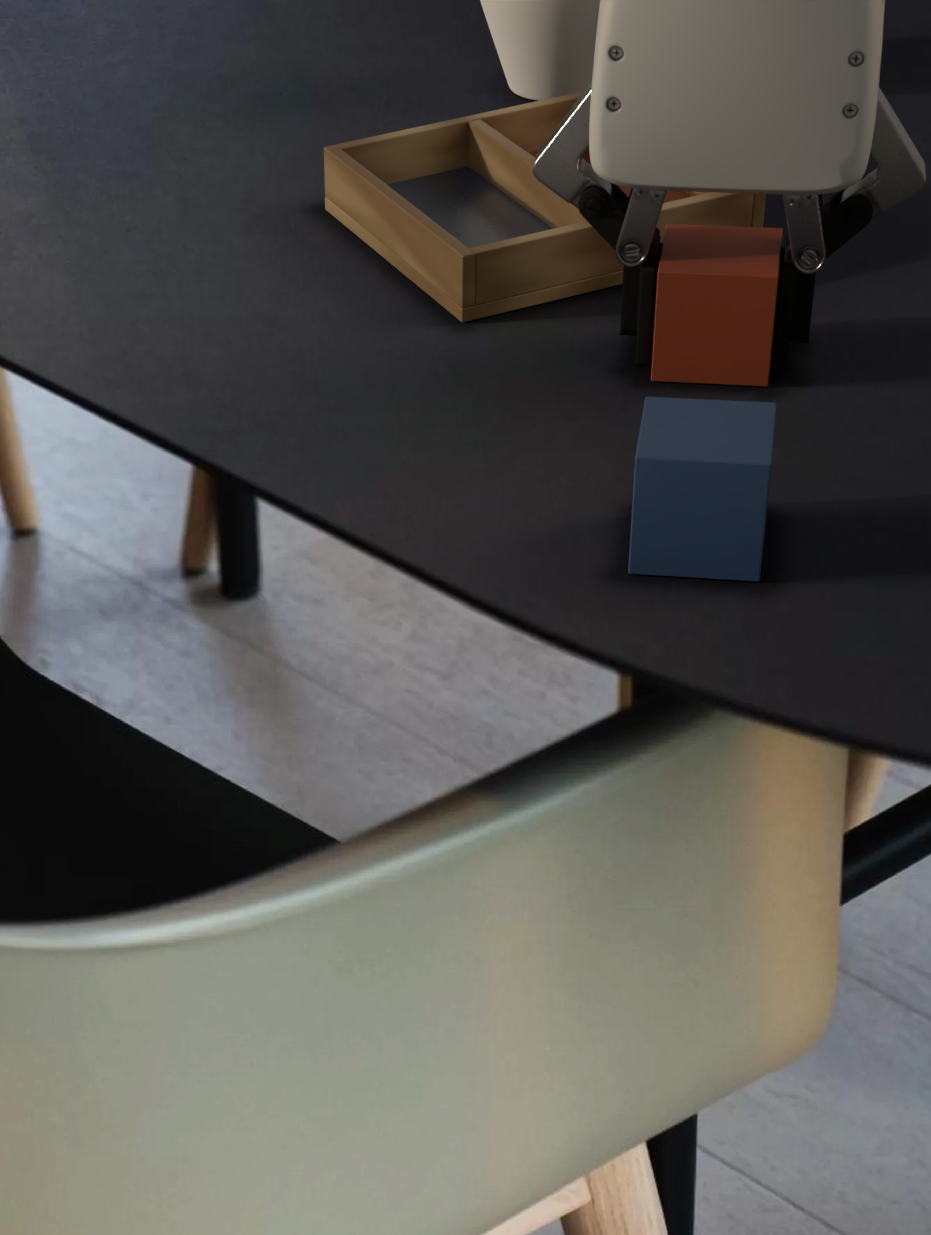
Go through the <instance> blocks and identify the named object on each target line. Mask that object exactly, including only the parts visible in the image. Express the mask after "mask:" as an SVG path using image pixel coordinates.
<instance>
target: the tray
mask: <svg viewBox="0 0 931 1235" xmlns="http://www.w3.org/2000/svg"><path fill="white" fill-rule="evenodd" d="M583 92H584V91H582V92H577V93H573V94H568V95H563V96H559V97H554V98H549V99H545V100H540V101H538V100H534V101H532V102H531V101H530V102H527V103H522V104H517V105H513V106H508V107H504V108H498V109H493V110H490V111H489V110H488V111H485V112H480V113H476V114H470V115H466V116H462V117H457V118H452V119H448V120H443V121H442V120H441V121H438V122H433V123H429V124H424V125H420V126H415V127H410V128H405V129H402V130H397V131H392V132H391V131H390V132H387V133H383V134H377V135H373V136H369V137H368V136H367V137H364V138H359V139H354V140H350V141H345V142H340V143H336V144H331V145H327V146H324V147H323V168H324V169H323V170H324V171H323V174H324V175H323V176H324V196H325V197H324V209H325V211H326V212H327V213H329V214H330V215H331V216H333V217H334V219H336V220H337V221H338V222H339V223H341V225H343V226H344V227H345V228H347V229H348V230H349V231H350V232H352V233H353V234H354V235H355V236H356V237H358V238H359V239H360V240H361V241H362V242H364V243H365V244H366V245H367V246H368V247H370V248H371V249H372V250H373V251H374V252H376V253H377V254H378V255H379V256H381V257H382V258H383V259H384V260H386V261H387V262H388V263H389V264H391V266H393V267H394V268H395V269H396V270H398V271H399V272H400V273H401V274H402V275H404V276H405V277H406V278H407V279H409V280H410V281H411V282H412V283H413V284H414V285H416V286H417V287H418V288H419V289H421V290H422V291H423V292H424V293H425V294H426V295H428V296H429V297H430V298H432V299H433V300H434V301H435V302H437V304H438V305H440V306H441V307H443V308H444V309H445V310H446V311H447V312H448V313H450V314H451V315H452V316H453V317H455V318H456V319H457V321H459V322H461V323H466V322H471V321H476V320H480V319H483V318H487V317H491V316H496V315H499V314H504V313H508V312H512V311H513V312H514V311H516V310H521V309H525V308H529V307H534V306H537V305H542V304H545V303H549V302H554V301H558V300H562V299H566V298H570V297H574V296H578V295H583V294H587V293H591V292H594V291H599V290H603V289H607V288H608V289H609V288H612V287H616V286H620V285H623V266H624V265H622V264H621V263H620V262H619V261H618V259H617V258H616V254H615V250H614V249H613V248H612V247H611V246H610V245H609V243H608V242H607V241H606V240H605V239H604V238H603V237H602V236H601V235H600V234H599V233H598V232H597V231H596V230H595V229H594V228H593V227H592V226H591V225H590V224H589V223H588V222H587V220H586V219H585V218H584V217H583V216H582V215H581V213H580V212H579V209H578V208H576V207H575V206H574V205H572V204H571V203H567V202H566V201H565V200H563V199H562V198H561V197H559V196H558V195H557V194H555V193H554V192H553V191H551V190H550V189H549V188H547V187H546V186H545V185H543V184H542V183H541V182H539V181H538V180H537V179H536V178H535V177H534V174H533V165H534V162H535V158H536V155H537V152H538V150H539V149H540V148H541V146H542V145H543V144H544V142H545V141H546V140H547V139H548V137H549V136H550V135H551V133H552V132H553V131H554V129H555V128H556V127H557V126H558V124H559V123H560V122H561V120H562V119H563V118H564V117H565V115H566V114H567V113H568V111H569V110H570V109H571V108H572V106H573V105H574V104H575V102H576V101H577V100H578V99H579V97H580V96H581V95H582V93H583ZM582 157H583V159H584V160H585V161H586V162H587V163H588V164H590V165H591V161H590V151H589V147H588V148H587V149H586V150H585V152H584V153H583V154H582ZM591 166H592V165H591ZM617 186H618V187H619V188H620V189H621V190H622V191H623V192H624V193H625V194H626V195H627V196H628V197H629V194H630V190H631V188H627V187H623V186H619V185H617ZM766 198H767V194H751V193H719V192H692V191H667V193H666V196H665V200H664V203H663V206H662V209H661V212H660V216H659V219H658V222H657V225H656V227H657V228H658V229H659V230H660V236H661V238H660V243H663V240H664V234H665V229H666V225H667V224H680V225H708V226H736V227H763V228H764V220H765V209H766V200H767V199H766Z"/></svg>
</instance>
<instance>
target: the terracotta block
mask: <svg viewBox="0 0 931 1235" xmlns="http://www.w3.org/2000/svg"><path fill="white" fill-rule="evenodd" d="M783 232H784V229H783V227H764V226H763V227H736V226H708V225H680V224H667V225H666V229H665V234H664V240H663V246H662V251H661V257H660V263H659V268H658V276H657V292H656V308H655V324H654V339H653V355H652V363H651V372H650V373H651V374H650V381H651V382H661V383H683V384H684V383H685V384H705V385H724V386H726V385H727V386H748V387H768V386H769V378H770V370H771V369H770V359H771V348H772V338H773V328H774V317H775V307H776V296H777V286H778V276H779V265H780V254H781V248H782V243H783Z"/></svg>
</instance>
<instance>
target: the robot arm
mask: <svg viewBox="0 0 931 1235" xmlns="http://www.w3.org/2000/svg"><path fill="white" fill-rule="evenodd" d="M885 8H886V0H600V6H599V15H598V24H597V33H596V43H595V53H594V65H593V76H592V82H591V83H590V84H589V86H588V87H587V88H586V89H585V91H584V92H583V93H582V95H581V96H580V97H579V99H578V100H577V101H576V102H575V104H574V105H573V106H572V108H571V109H570V110H569V111H568V113H567V114H566V115H565V117H564V118H563V119H562V120H561V122H560V123H559V124H558V126H557V127H556V128H555V129H554V131H553V132H552V133H551V135H550V136H549V137H548V139H547V140H546V141H545V142H544V144H543V145H542V146H541V148H540V149H539V150H538V152H537V155H536V158H535V162H534V165H533V174H534V177H535V178H536V179H537V180H538V181H539V182H541V183H542V184H543V185H545V186H546V187H547V188H549V189H550V190H551V191H553V192H554V193H555V194H557V195H558V196H559V197H561V198H562V199H563V200H565V201H566V202H567V203H571V204H572V205H574V206H575V207H576V208H578V209H579V212H580V213H581V215H582V216H583V217H584V218H585V219H586V220H587V222H588V223H589V224H590V225H591V226H592V227H593V228H594V229H595V230H596V231H597V232H598V233H599V234H600V235H601V236H602V237H603V238H604V239H605V240H606V241H607V242H608V243H609V245H610V246H611V247H612V248H613V249H614V250H615V254H616V258H617V259H618V261H619V262H620V263H621V264H622V265H624V266H623V284H621V285H622V286H621V302H620V303H621V304H620V305H621V306H620V322H619V323H620V326H619V335H620V336H635V337H636V344H635V346H636V347H635V360H634V361H635V362H634V363H635V364H634V366H635V367H640V368H641V367H642V368H644V367H645V368H649V367H650V364H652V355H653V339H654V324H655V308H656V292H657V276H658V268H659V263H660V257H661V251H662V246H663V243H660V238H661V236H660V230H659V229H658V228H657V227H656V225H657V222H658V219H659V216H660V212H661V209H662V206H663V203H664V200H665V196H666V193H667V191H692V192H719V193H751V194H766V195H782V199H783V206H784V211H785V212H784V213H785V219H786V226H787V232H788V233H787V234H786V236H785V245H784V246H785V247H781V254H780V265H779V276H778V286H777V296H776V307H775V317H774V328H773V338H772V348H771V359H770V369H769V370H773V372H772V373H773V374H788V367H789V366H788V365H789V355H790V344H792V343H793V344H809V341H810V332H811V323H812V316H813V312H812V311H813V304H814V296H815V295H814V294H815V287H816V286H815V284H816V275H817V273H818V272H819V271H821V270H822V268H823V267H824V266H825V264H826V260H827V259H829V258H830V256H832V255H833V254H834V253H836V252H837V251H838V250H839V249H840V248H842V247H843V246H845V244H847V243H848V242H849V241H850V240H851V239H853V238H854V237H855V236H857V235H858V234H859V233H860V232H861V231H862V230H864V229H865V228H866V227H867V226H868V225H869V224H870V223H871V221H872V220H873V219H875V218H877V217H878V216H880V215H884V214H886V213H887V212H889V211H891V210H893V209H895V208H896V207H898V206H899V205H901V204H903V203H904V202H906V201H908V200H909V199H911V198H913V197H914V196H916V195H918V194H919V193H921V191H923V190H924V188H925V187H926V183H927V166H926V163H925V160H924V159H923V156H922V155H921V153H920V152H919V150H918V149H917V146H916V145H915V143H914V142H913V141H912V139H911V137H910V136H909V134H908V132H907V130H906V129H905V127H904V125H903V124H902V122H901V120H900V119H899V117H898V116H897V114H896V112H895V110H894V108H893V107H892V106H891V104H890V102H889V100H888V99H887V98H886V95H885V94H884V93H883V91H882V89H881V87H880V81H881V80H880V78H881V68H882V67H881V66H882V54H883V53H882V52H883V40H884V23H885V10H886V9H885ZM588 147H589V151H590V161H591V165H592V166H591V165H590V164H588V163H587V162H586V161H585V160H584V159H583V157H582V154H583V153H584V152H585V150H586V149H587V148H588ZM870 156H871V157H872V158H873V160H874V162H875V163H876V165H877V167H875V168H874V169H873V170H872V171H871V172H869V173H867V174H866V176H865V177H864V175H865V173H866V170H867V169H868V164H869V159H870ZM617 185H619V186H623V187H627V188H631V190H630V194H629V197H628V196H627V195H626V194H625V193H624V192H623V191H622V190H621V189H620V188H619V187H618V186H617ZM833 193H835V194H834V195H832V197H830V198H829V199H828V200H826V202H825V197H824V195H826V194H827V195H829V194H833Z"/></svg>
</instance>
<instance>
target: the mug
mask: <svg viewBox="0 0 931 1235" xmlns="http://www.w3.org/2000/svg"><path fill="white" fill-rule="evenodd" d="M479 1H480V5H481V8H482V11H483V13H484V16H485V20H486V23H487V27H488V29H489V32H490V35H491V38H492V41H493V44H494V47H495V50H496V52H497V56H498V58H499V61H500V65H501V67H502V70H503V74H504V76H505V79H506V82H507V85H508V88H509V89H510V90H511V92H512V93H513V94H515V95H517V96H518V97H521V98H524V99H528V100H532V101H540V100H545V99H549V98H554V97H559V96H563V95H568V94H573V93H577V92H582V91H585V89H586V88H587V87H588V86H589V84H590V83H591V82H592V76H593V65H594V53H595V43H596V33H597V24H598V15H599V6H600V0H479Z"/></svg>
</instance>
